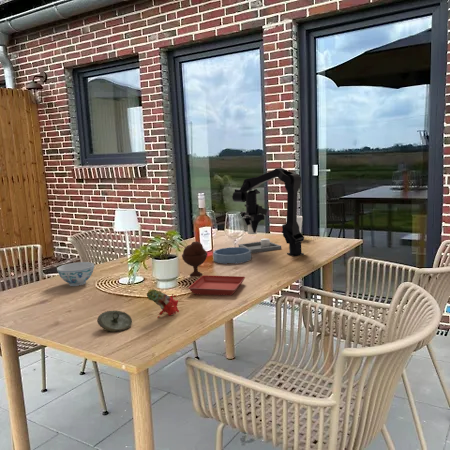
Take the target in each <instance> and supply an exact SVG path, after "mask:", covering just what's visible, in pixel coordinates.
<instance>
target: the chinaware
mask: <svg viewBox="0 0 450 450" xmlns="http://www.w3.org/2000/svg"><path fill="white" fill-rule="evenodd" d="M94 269H95V263H94V262H92V261H91V262H90V261H79V262H69V263H66V264H63V265H60V266H58V267H56V270H57V273H58V275H59V277H60V278H61V279H62V280H63V281H64V282H66V283H67V284H68V285H69V286H70V287H80V286H83V285H85V284H86V283H87V281H88V280H89V279H90V278H91V276H92V275H93V272H94ZM79 285H80V286H79Z"/></svg>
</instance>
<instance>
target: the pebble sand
mask: <svg viewBox="0 0 450 450" xmlns="http://www.w3.org/2000/svg"><path fill="white" fill-rule="evenodd" d="M247 234H248V235H256V234H258V229H257V230H256V233H254V232H253V230H252V227H251V224H250V225H248V227H247Z"/></svg>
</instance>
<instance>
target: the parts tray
mask: <svg viewBox="0 0 450 450" xmlns="http://www.w3.org/2000/svg"><path fill="white" fill-rule="evenodd" d="M237 247H242V248H248V249H251V254H256V253H264V252H265V253H266V252H270V251H271V252H272V251H277V250H282V245H280V244H277V243H275V242H271V241H270V247H265V248H261V241H256V242H255V241H254V242H248V243H239V244H238V245H237Z"/></svg>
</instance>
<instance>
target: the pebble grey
mask: <svg viewBox="0 0 450 450" xmlns="http://www.w3.org/2000/svg"><path fill="white" fill-rule="evenodd" d="M260 242H261V248H265V247H270V242H271V239H270V238H261V239H260Z"/></svg>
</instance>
